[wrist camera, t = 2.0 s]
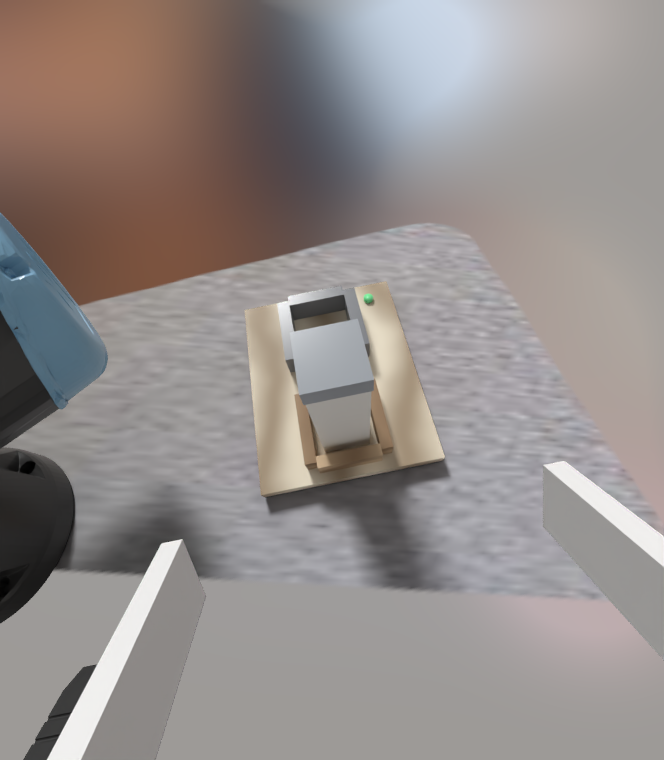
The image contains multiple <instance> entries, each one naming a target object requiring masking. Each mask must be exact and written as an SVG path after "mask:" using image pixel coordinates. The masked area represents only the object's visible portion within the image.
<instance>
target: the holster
mask: <svg viewBox="0 0 664 760" xmlns="http://www.w3.org/2000/svg"><path fill="white" fill-rule="evenodd" d="M294 396H295V403H296V410H297V416H298V423H299V430H300V437H301V443H302V450H303V457H304V464H305V466H306V467H307V469H308V470H310V469H315V468H318V470H319V472H320V473H325V472H329V471H334V470H339V469H344V468H349V467H354V466H359V465H363V464H368V463H373V462H378V461H382V458H383V454H388V453H392V450H393V443H392V439H391V436H390V432H389V428H388V425H387V421H386V417H385V413H384V410H383V406H382V402H381V399H380V395H379V391H378V388H377V384H376V380H375V378H374V391H371V419H372V423H373V427H374V431H375V435H376V439H377V443H378V444H374V445H369V446H364V447H359V448H354V449H349V450H344V451H340V452H335V453H330V454H325V455H320V456H318V455H317V449H316V443H315V437H314V431H313V425H312V419H311V417H310V415H309V412H308V410H307V407H306V405H303V403H302V401H301V398H300V396H299V394H295V395H294Z"/></svg>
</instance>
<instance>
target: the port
mask: <svg viewBox="0 0 664 760" xmlns="http://www.w3.org/2000/svg"><path fill="white" fill-rule="evenodd" d="M288 300H289V301H286V302H281V303H277V306H278V313H279V320H280V327H281V334H282V341H283V348H284V355H285V361H286V363H287V366H288V368H289V370H290V373H291V372H295V365H294V359H293V352H292V346H291V339H290V332H295V331H296V329H295V323H294V320H298V319H303V318H307V317H312V316H317V315H322V314H327V313H332V312H337V311H342V310H345V311H346V315H347V319H348V321H349V320H354V319H358V321H359V325H360V329H361V333H362V336H363V340H364V344H365V348H366V351H367V355H368V357H369V350H370V343H369V339H368V335H367V332H366V328H365V325H364V321H363V317H362V314H361V310H360V306H359V303H358V299H357V296H356V292H355V288H350V289H345V290H343V289H342V286H337V287H332V288H327V289H322V290H317V291H312V292H307V293H302V294H297V295H292V296H288ZM372 301H373V296H372V295H371V294H366V295H364V302H365V303H371V302H372Z"/></svg>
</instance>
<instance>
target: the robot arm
mask: <svg viewBox="0 0 664 760" xmlns="http://www.w3.org/2000/svg"><path fill="white" fill-rule="evenodd" d="M107 360H108V355H107V350H106V347H105V345H104V343H103V341H102V340H101V338H100V336H99V334H98V333H97V331H96V330H95V328H94V327H93V325H92V324H91V323H90V321H89V320H88V318H87V317H86V316H85V314H84V313H83V312H82V310H81V309H80V308H79V306H78V305H77V303H76V302H75V301H74V300H73V298H72V297H71V296H70V294H69V293H68V292H67V291H66V289H65V288H64V287H63V285H62V284H61V283H60V282H59V280H58V279H57V278H56V277H55V275H54V274H53V273H52V272H51V270H50V269H49V268H48V267H47V266H46V264H45V263H44V262H43V260H42V259H41V258H40V257H39V256H38V255H37V253H36V252H35V251H34V250H33V249H32V248H31V246H30V245H29V244H28V243H27V242H26V240H25V239H24V238H23V237H22V236H21V235H20V234H19V232H18V231H17V230H16V229H15V228H14V227H13V226H12V224H11V223H10V222H9V221H8V220H7V219H6V218H5V217H4V216H3V215H2V214H1V213H0V623H2V622H3V621H5V620H6V619H7V618H9V617H10V616H12V615H13V614H14V613H16V612H17V611H18V610H19V609H20V608H21V607H23V606H24V605H25V604H26V603H27V602H28V601H29V600H30V599H31V598H32V597H33V596H34V595H35V594H36V593H37V591H38V590H39V589H40V588H41V587H42V585H43V584H44V583H45V581H46V580H47V578H48V577H49V576H50V574H51V573H52V571H53V569H54V568H55V566H56V564H57V563H58V561H59V559H60V557H61V555H62V552H63V550H64V548H65V545H66V543H67V540H68V537H69V533H70V529H71V525H72V519H73V494H72V489H71V486H70V483H69V480H68V478H67V476H66V475H65V473H64V472H63V470H62V469H61V468H60V467H59V466H58V465H57V464H56V463H55V462H53V461H52V460H50V459H49V458H46V457H44V456H41V455H38V454H35V453H31V452H28V451H24V450H20V449H14V448H2V447H4V446H5V445H7V444H8V443H9V442H11V441H12V440H14V439H15V438H17V437H18V436H20V435H21V434H23V433H24V432H26V431H27V430H28V429H30V428H31V427H33V426H34V425H36V424H37V423H39V422H40V421H42V420H43V419H44V418H46V417H47V416H49V415H50V414H52V413H53V412H55V411H56V410H58V409H63V408H65V407H66V405H67V404H68V400H70V399H71V398H72V397H74V396H75V395H76V394H77V393H79V392H80V391H81V390H83V389H84V388H85V387H87V386H88V385H89V384H91V383H92V382H93V381H95V380H96V379H97V378H98V377H99V376H100V375H101V374H102V373H103V372H104V370H105V368H106V365H107ZM543 527H544V528H545V529H546V531H547V532H548V533H549V534H550V535H551V536H552V537H553V538H554V539H555V541H556V542H557V543H558V544H559V545H560V546H561V547H562V548H563V549H564V551H565V552H566V553H567V554H568V555H569V556H570V557H571V558H572V559H573V560H574V562H575V563H576V564H577V565H578V566H579V567H580V568H581V569H582V570H583V572H584V573H585V574H586V575H587V576H588V577H589V578H590V579H591V580H592V582H593V583H594V584H595V585H596V586H597V587H598V588H599V589H600V590H601V591H602V593H603V594H604V595H605V596H606V597H607V598H608V599H609V600H610V601H611V603H612V604H613V605H614V606H615V607H616V608H617V609H618V610H619V611H620V613H622V615H623V616H624V617H625V618H626V619H627V620H628V621H629V622H630V624H631V625H632V626H633V627H634V628H635V629H636V630H637V631H638V632H639V634H640V635H641V636H642V637H643V638H644V639H645V640H646V641H647V642H648V643H649V645H650V646H651V647H652V648H653V649H654V650H655V651H656V652H657V653H658V654H659V656H660V657H661V658H662V659H663V660H664V536H663V535H661V534H660V533H659V532H657V531H656V530H655V529H653V528H652V527H651V526H649V525H648V524H647V523H645V522H644V521H643V520H641V519H640V518H639V517H637V516H636V515H635V514H634V513H632V512H631V511H630V510H628V509H627V508H626V507H624V506H623V505H622V504H620V503H619V502H618V501H616V500H615V499H614V498H612V497H611V496H610V495H608V494H607V493H606V492H605V491H603V490H602V489H601V488H599V487H598V486H597V485H595V484H594V483H593V482H591V481H590V480H589V479H587V478H586V477H585V476H583V475H582V474H581V473H579V472H578V471H577V470H576V469H574V468H573V467H572V466H570V465H569V464H568V463H566V462H565V461H561V462H556V463H552V464H547V465H543ZM205 597H206V595H205V592H204V590H203V588H202V585H201V583H200V580H199V578H198V575H197V573H196V571H195V568H194V566H193V563H192V561H191V558H190V556H189V554H188V551H187V549H186V546H185V544H184V541H183V539H181V540H176V541H171V542H166V543H161V545H160V547H159V549H158V551H157V553H156V555H155V557H154V558H153V560H152V562H151V564H150V566H149V568H148V570H147V572H146V574H145V575H144V577H143V579H142V581H141V583H140V585H139V587H138V589H137V591H136V593H135V594H134V596H133V598H132V600H131V602H130V604H129V606H128V608H127V610H126V612H125V613H124V616H123V617H122V619H121V621H120V623H119V625H118V627H117V628H116V630H115V632H114V634H113V636H112V638H111V640H110V642H109V643H108V645H107V647H106V649H105V651H104V653H103V655H102V657H101V659H100V661H99V662H98V664H97V665H92V666H87V667H83V668H82V670H81V671H80V672H79V673H78V674H77V675H76V676H75V678H74V679H73V680H72V681H71V682H70V683H69V685H68V686H67V687H66V688H65V689H64V690H63V692H62V694H61V696H60V697H59V699H58V701H57V703H56V704H55V706H54V708H53V709H52V711H51V713H50V715H49V716H48V721H47V722H45V723H44V725H43V727H42V728H41V730H40V732H39V734H38V735H37V737H36V739H35V740H36V741H35V744H34V745H32V746H31V748H30V749H29V751H28V753H27V754H26V756H25V758H24V760H155V759H156V756H157V753H158V749H159V746H160V743H161V740H162V736H163V733H164V730H165V727H166V723H167V720H168V717H169V714H170V711H171V707H172V704H173V701H174V698H175V694H176V691H177V688H178V685H179V682H180V678H181V675H182V672H183V669H184V665H185V662H186V659H187V655H188V653H189V649H190V646H191V643H192V639H193V636H194V633H195V630H196V627H197V623H198V620H199V617H200V614H201V610H202V607H203V604H204V601H205Z"/></svg>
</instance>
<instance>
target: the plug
mask: <svg viewBox="0 0 664 760" xmlns="http://www.w3.org/2000/svg"><path fill="white" fill-rule="evenodd" d="M290 339H291V346H292V352H293V359H294V365H295V372H296V378H297V384H298V391H299V396H300V398H301V401H302V403H303V405H306V407H307V410H308V412H309V415H310V417H311V419H312V422H313V424H314V427H315V429H316V432H317V434H318V437H319V439H320V441H321V444H322V446H323V449H324V451H325V452H330V451H335V450H340V449H345V448H350V447H355V446H359V445H364V444H369V442H370V416H371V391H374V377H373V374H372V370H371V366H370V362H369V359H368V355H367V351H366V348H365V344H364V340H363V336H362V333H361V329H360V325H359V321H358V319H354V320H349V321H344V322H339V323H334V324H329V325H324V326H319V327H314V328H309V329H304V330H299V331H295V332H290Z"/></svg>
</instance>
